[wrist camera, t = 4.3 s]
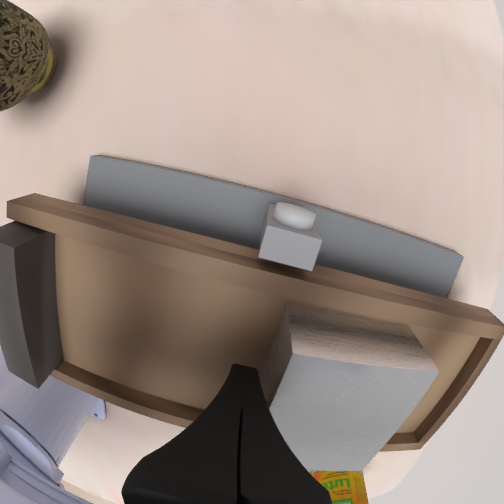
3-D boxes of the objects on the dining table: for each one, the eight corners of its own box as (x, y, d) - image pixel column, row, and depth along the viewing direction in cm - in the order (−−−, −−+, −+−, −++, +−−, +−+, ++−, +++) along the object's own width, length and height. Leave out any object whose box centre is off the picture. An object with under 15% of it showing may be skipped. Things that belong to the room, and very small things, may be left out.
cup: (96, 19, 13) (19, -23, 5) (65, 122, 15) (-30, 122, 8) (27, 30, 13) (-44, 10, 5) (2, 118, 15) (-76, 122, 7)
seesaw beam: (43, 343, 16) (8, 380, 12) (34, 193, 12) (-23, 210, 8) (411, 427, 16) (428, 470, 12) (487, 309, 13) (527, 346, 9)
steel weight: (248, 410, 14) (243, 463, 11) (286, 300, 12) (292, 353, 9) (350, 423, 15) (361, 470, 11) (408, 325, 12) (439, 371, 9)
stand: (90, 344, 20) (51, 391, 15) (99, 151, 16) (33, 157, 10) (370, 411, 21) (386, 468, 15) (457, 249, 16) (512, 286, 10)
